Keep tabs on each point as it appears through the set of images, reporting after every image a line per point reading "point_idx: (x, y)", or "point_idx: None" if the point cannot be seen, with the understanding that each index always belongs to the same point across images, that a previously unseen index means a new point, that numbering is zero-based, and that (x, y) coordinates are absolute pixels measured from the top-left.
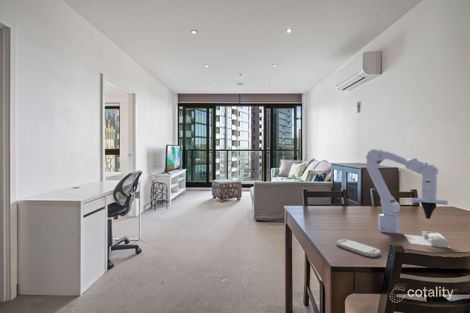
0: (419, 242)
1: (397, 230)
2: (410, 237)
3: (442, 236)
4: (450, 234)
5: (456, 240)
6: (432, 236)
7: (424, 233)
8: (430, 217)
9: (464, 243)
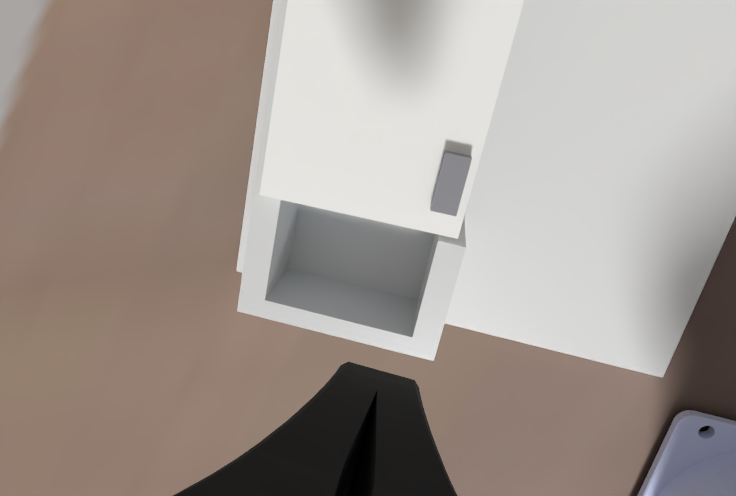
0: (666, 5)
1: (709, 477)
2: (649, 249)
3: (294, 16)
4: (32, 447)
5: (58, 234)
6: (461, 19)
7: (465, 243)
8: (333, 376)
9: (13, 122)
